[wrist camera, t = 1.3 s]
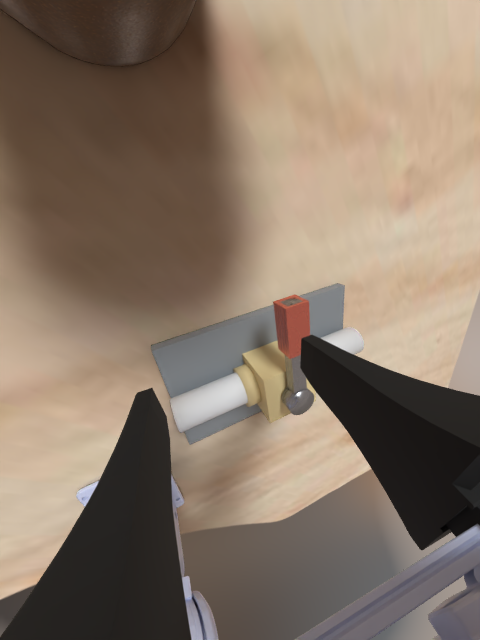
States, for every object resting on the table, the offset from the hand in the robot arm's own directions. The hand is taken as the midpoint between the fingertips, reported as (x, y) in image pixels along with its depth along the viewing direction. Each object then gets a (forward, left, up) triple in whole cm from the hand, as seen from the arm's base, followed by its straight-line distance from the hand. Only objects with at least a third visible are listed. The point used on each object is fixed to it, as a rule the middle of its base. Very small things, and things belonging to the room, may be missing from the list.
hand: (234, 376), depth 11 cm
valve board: (-8, -6, -10) cm, 15 cm away
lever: (-4, -6, -5) cm, 9 cm away
